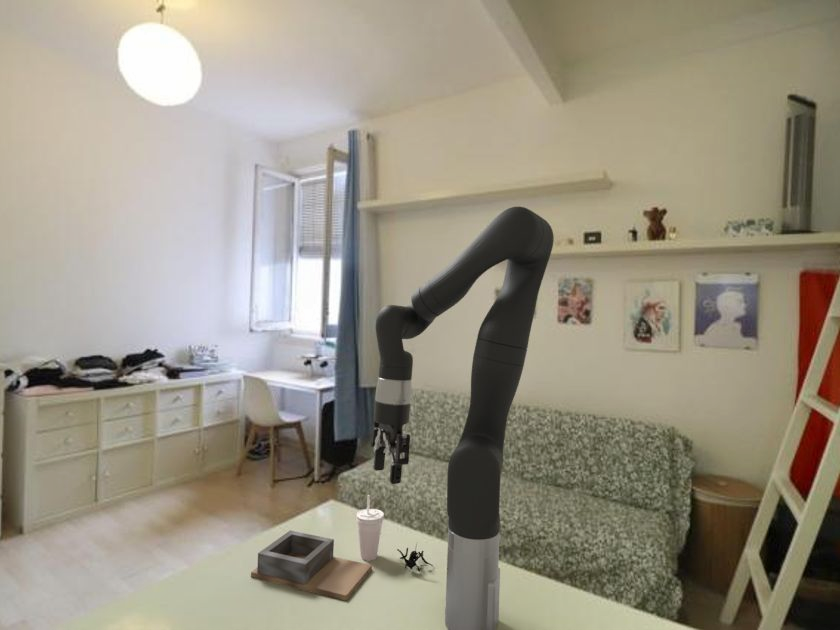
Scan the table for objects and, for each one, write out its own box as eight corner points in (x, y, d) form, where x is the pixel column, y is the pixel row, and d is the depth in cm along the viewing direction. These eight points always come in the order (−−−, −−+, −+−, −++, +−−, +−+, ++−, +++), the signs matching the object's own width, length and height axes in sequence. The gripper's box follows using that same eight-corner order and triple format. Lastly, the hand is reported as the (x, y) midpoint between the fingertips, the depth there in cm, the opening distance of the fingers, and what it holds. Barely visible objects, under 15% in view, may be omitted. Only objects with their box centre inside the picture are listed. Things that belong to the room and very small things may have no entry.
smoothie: (351, 552, 108) (353, 491, 108) (377, 547, 110) (379, 488, 111) (359, 565, 102) (362, 502, 102) (386, 560, 105) (389, 498, 105)
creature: (403, 560, 107) (390, 569, 100) (405, 535, 108) (393, 542, 101) (435, 567, 105) (425, 577, 97) (437, 541, 106) (427, 549, 99)
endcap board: (371, 569, 100) (372, 546, 100) (346, 600, 89) (346, 574, 89) (285, 550, 107) (285, 528, 107) (250, 576, 96) (251, 552, 96)
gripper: (424, 406, 93) (417, 486, 93) (395, 393, 106) (388, 464, 106) (390, 406, 90) (383, 490, 90) (364, 393, 103) (357, 466, 102)
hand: (386, 476), depth 98 cm, fingers open, 8 cm apart
